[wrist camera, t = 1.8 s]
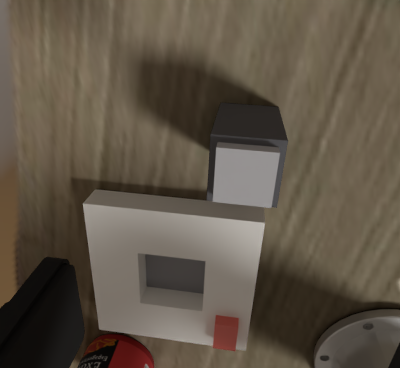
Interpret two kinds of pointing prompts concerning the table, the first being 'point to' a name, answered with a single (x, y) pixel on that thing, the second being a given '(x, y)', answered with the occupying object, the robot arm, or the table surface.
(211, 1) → the table surface
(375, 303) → the table surface
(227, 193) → the plug
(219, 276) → the socket plate
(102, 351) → the canned food
